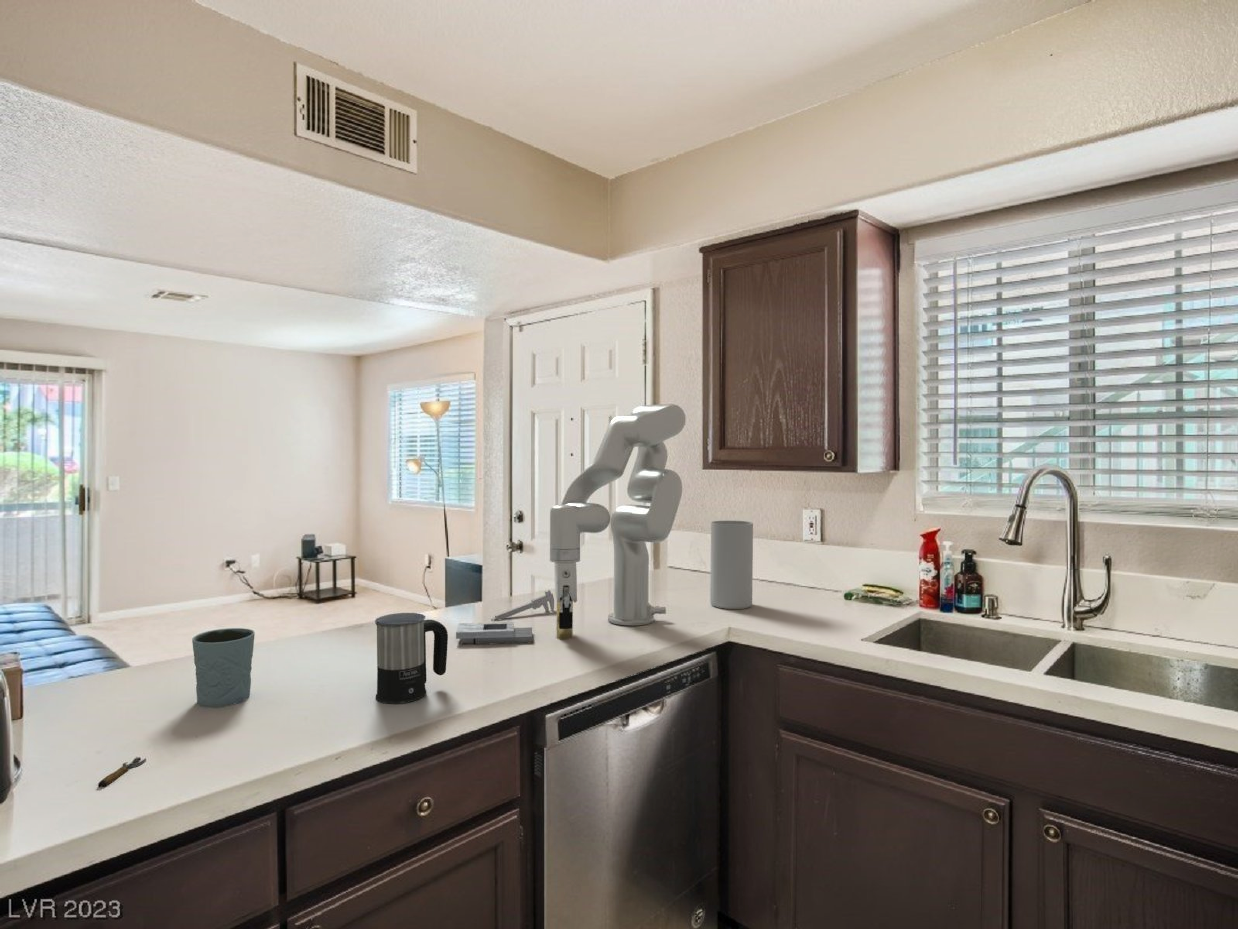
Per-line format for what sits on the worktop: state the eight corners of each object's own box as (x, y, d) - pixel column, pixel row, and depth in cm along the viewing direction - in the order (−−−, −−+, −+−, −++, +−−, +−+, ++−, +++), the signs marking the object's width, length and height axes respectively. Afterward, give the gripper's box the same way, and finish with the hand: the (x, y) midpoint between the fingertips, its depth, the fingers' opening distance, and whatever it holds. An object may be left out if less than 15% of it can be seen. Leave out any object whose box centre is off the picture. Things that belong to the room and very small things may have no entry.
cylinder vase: (755, 610, 209) (756, 524, 208) (712, 609, 209) (713, 524, 208) (748, 601, 221) (749, 520, 221) (708, 600, 221) (708, 520, 221)
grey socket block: (531, 633, 181) (531, 621, 181) (532, 642, 172) (532, 630, 172) (459, 635, 178) (459, 623, 178) (456, 645, 169) (456, 632, 169)
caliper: (552, 610, 208) (552, 589, 208) (554, 611, 207) (554, 589, 207) (490, 621, 194) (490, 598, 194) (492, 622, 194) (492, 599, 193)
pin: (572, 634, 180) (572, 595, 179) (573, 639, 176) (573, 598, 175) (556, 635, 179) (556, 595, 179) (556, 639, 175) (557, 598, 175)
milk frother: (397, 708, 128) (397, 626, 128) (341, 692, 136) (341, 615, 136) (455, 686, 140) (455, 611, 140) (400, 672, 148) (400, 601, 148)
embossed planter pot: (241, 686, 139) (240, 625, 139) (264, 698, 133) (264, 634, 132) (183, 700, 131) (183, 635, 131) (205, 713, 125) (205, 645, 125)
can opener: (105, 789, 97) (105, 781, 97) (88, 789, 98) (88, 780, 98) (151, 761, 106) (151, 753, 106) (136, 760, 107) (136, 753, 107)
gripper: (583, 560, 169) (582, 632, 169) (577, 550, 186) (576, 615, 186) (551, 560, 168) (550, 633, 168) (548, 550, 185) (548, 616, 185)
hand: (564, 623), depth 177 cm, fingers open, 9 cm apart
